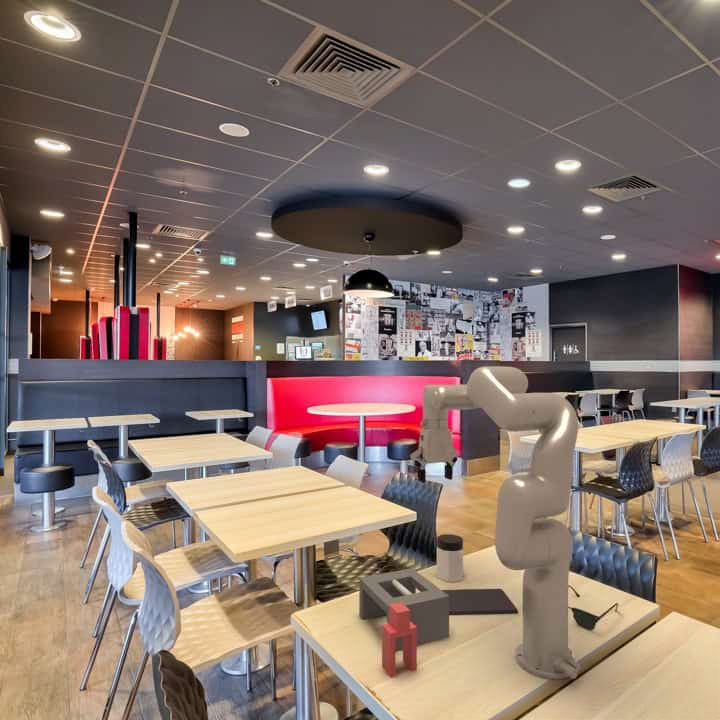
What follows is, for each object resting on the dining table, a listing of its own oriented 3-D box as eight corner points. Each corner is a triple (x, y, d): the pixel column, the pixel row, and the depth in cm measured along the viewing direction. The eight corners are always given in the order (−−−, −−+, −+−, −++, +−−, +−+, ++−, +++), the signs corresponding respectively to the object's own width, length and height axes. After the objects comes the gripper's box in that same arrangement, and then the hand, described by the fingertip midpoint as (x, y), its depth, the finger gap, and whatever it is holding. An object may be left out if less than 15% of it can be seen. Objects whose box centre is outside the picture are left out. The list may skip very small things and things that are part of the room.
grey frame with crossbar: (449, 637, 119) (449, 595, 119) (390, 652, 113) (390, 608, 113) (412, 604, 135) (412, 568, 136) (359, 616, 129) (359, 577, 129)
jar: (457, 570, 159) (457, 532, 159) (468, 580, 151) (468, 541, 151) (431, 572, 156) (431, 535, 157) (442, 583, 149) (442, 544, 149)
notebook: (439, 617, 129) (518, 615, 131) (439, 611, 129) (518, 609, 131) (429, 595, 142) (501, 593, 143) (429, 590, 142) (501, 588, 143)
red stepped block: (416, 669, 106) (416, 608, 106) (390, 677, 103) (390, 614, 104) (407, 659, 110) (407, 600, 110) (382, 666, 107) (382, 606, 107)
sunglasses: (628, 616, 130) (628, 597, 130) (598, 637, 120) (598, 617, 120) (569, 593, 143) (569, 576, 143) (537, 611, 133) (537, 592, 133)
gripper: (417, 427, 144) (417, 485, 143) (465, 424, 151) (465, 480, 150) (404, 424, 150) (404, 480, 150) (451, 422, 158) (451, 475, 157)
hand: (435, 480), depth 150 cm, fingers open, 9 cm apart
